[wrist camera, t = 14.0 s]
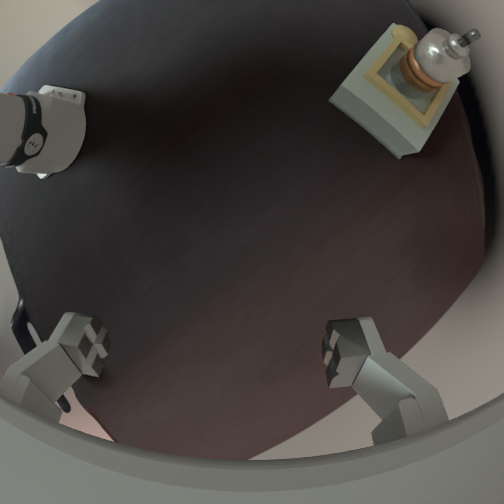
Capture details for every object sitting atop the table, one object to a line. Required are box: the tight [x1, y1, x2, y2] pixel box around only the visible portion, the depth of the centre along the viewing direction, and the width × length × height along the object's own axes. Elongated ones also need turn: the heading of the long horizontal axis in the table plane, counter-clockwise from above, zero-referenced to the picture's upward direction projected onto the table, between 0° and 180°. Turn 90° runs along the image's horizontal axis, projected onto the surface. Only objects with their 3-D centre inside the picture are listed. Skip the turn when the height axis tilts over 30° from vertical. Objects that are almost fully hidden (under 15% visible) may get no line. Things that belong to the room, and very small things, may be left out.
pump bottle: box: [391, 28, 481, 99], centre depth 18 cm, size 6×6×16 cm
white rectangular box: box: [328, 23, 459, 159], centre depth 28 cm, size 14×17×8 cm
